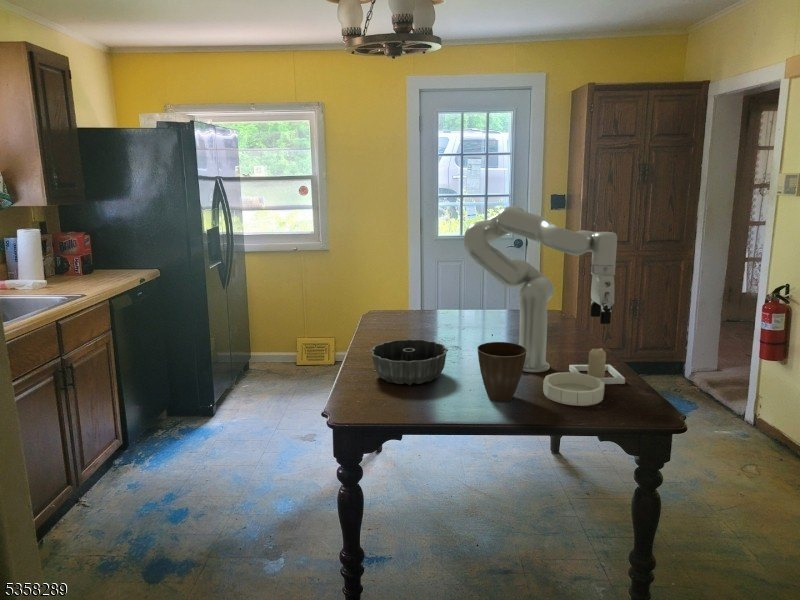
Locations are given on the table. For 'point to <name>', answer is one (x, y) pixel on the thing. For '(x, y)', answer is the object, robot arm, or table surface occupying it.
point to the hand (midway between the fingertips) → (600, 319)
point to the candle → (597, 363)
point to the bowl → (573, 388)
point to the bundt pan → (409, 360)
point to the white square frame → (607, 380)
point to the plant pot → (501, 368)
